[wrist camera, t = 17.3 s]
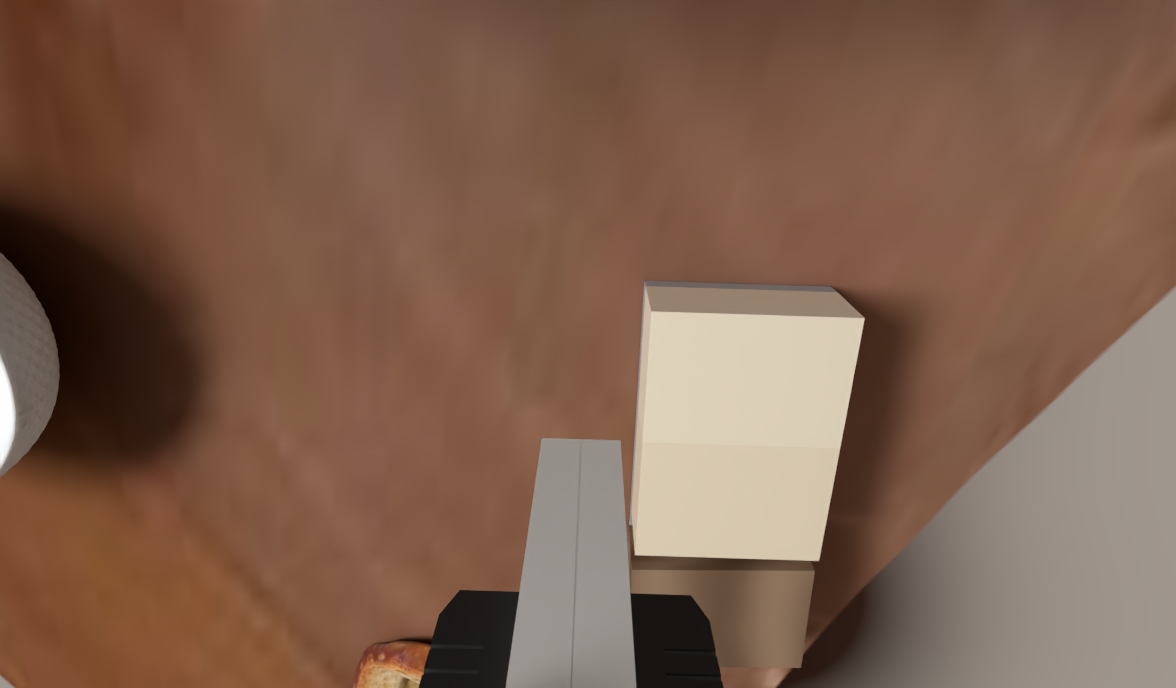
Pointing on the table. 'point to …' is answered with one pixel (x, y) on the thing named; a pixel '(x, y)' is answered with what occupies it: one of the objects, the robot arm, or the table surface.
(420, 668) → the bread slice
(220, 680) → the table surface
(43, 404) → the cereal bowl
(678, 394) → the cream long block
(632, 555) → the tan brown block
